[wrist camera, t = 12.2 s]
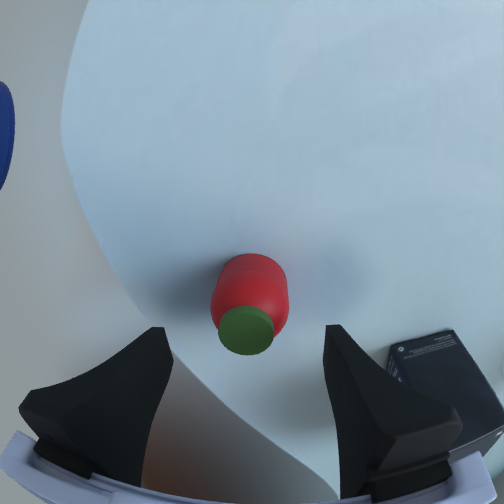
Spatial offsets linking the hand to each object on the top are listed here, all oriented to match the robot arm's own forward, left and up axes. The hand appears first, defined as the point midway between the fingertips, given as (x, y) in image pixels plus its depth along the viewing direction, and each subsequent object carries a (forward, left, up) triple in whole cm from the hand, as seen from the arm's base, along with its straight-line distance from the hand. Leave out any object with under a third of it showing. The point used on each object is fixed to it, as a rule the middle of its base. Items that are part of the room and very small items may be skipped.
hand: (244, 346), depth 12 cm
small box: (+12, -12, -6) cm, 18 cm away
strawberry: (0, 0, -6) cm, 6 cm away
